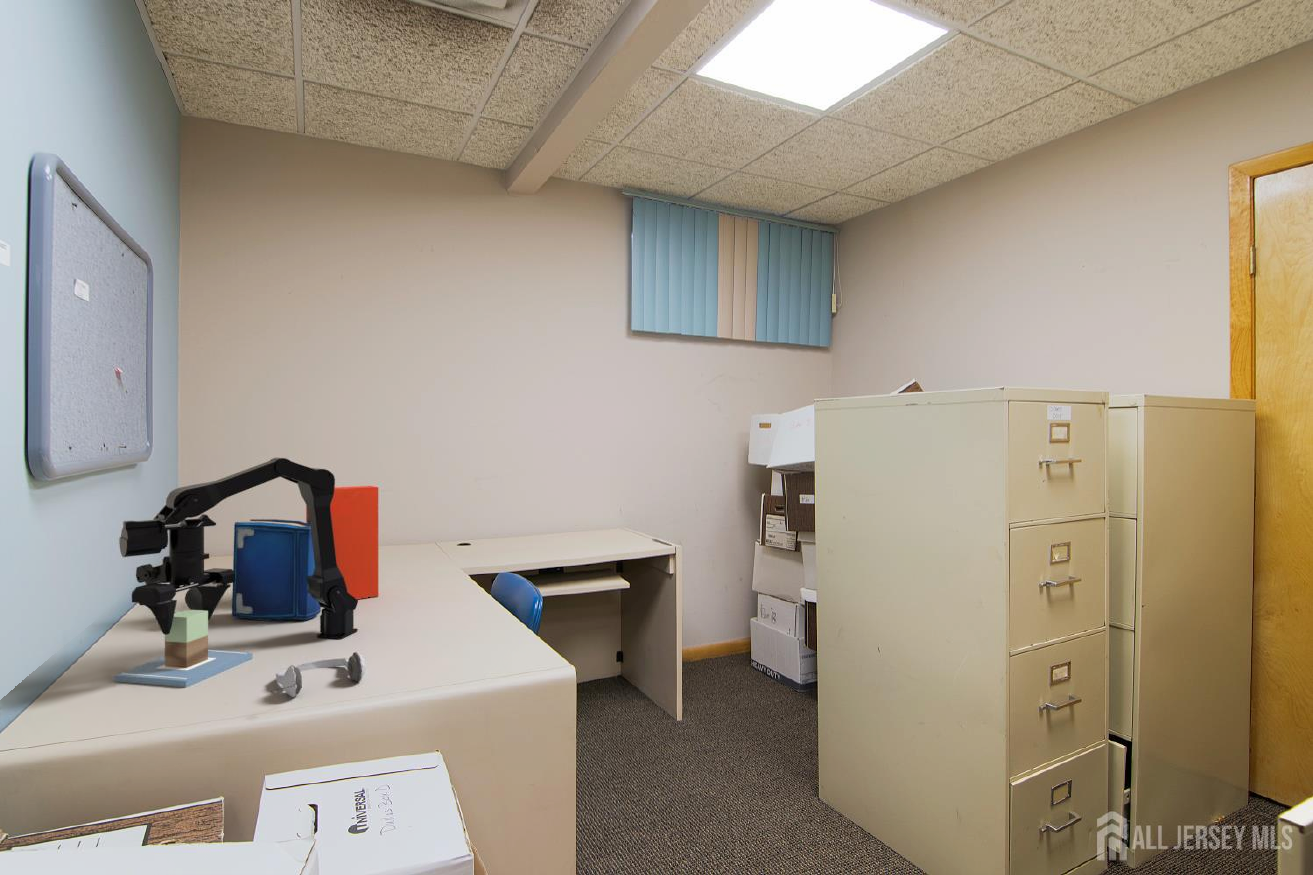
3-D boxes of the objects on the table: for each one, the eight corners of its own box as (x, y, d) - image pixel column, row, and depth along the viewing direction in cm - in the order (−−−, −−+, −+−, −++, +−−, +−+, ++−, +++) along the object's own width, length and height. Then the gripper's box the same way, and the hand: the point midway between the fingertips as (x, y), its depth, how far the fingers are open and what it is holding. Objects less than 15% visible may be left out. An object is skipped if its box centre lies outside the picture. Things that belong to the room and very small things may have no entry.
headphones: (379, 684, 122) (346, 672, 137) (377, 653, 123) (345, 644, 138) (273, 710, 111) (250, 694, 125) (272, 675, 111) (249, 663, 126)
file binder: (306, 600, 185) (306, 488, 185) (369, 591, 196) (369, 485, 196) (313, 606, 179) (313, 490, 179) (378, 596, 190) (378, 487, 190)
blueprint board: (252, 658, 138) (252, 652, 138) (186, 687, 123) (186, 680, 123) (187, 653, 141) (187, 647, 141) (114, 681, 125) (114, 674, 125)
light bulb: (180, 629, 158) (180, 588, 158) (190, 623, 163) (190, 583, 163) (207, 628, 159) (207, 587, 159) (216, 621, 165) (216, 582, 165)
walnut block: (208, 659, 134) (208, 634, 134) (186, 667, 129) (186, 642, 129) (186, 657, 135) (187, 633, 135) (164, 666, 130) (164, 641, 130)
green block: (207, 634, 134) (207, 610, 134) (186, 642, 129) (186, 617, 129) (186, 633, 135) (186, 609, 135) (164, 641, 130) (164, 616, 130)
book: (326, 615, 171) (327, 519, 171) (309, 622, 164) (310, 523, 164) (249, 612, 173) (250, 518, 173) (229, 619, 166) (230, 521, 166)
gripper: (192, 541, 142) (192, 612, 142) (106, 557, 124) (107, 639, 124) (237, 542, 140) (237, 615, 140) (157, 559, 122) (157, 642, 122)
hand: (186, 627), depth 132 cm, fingers open, 9 cm apart
